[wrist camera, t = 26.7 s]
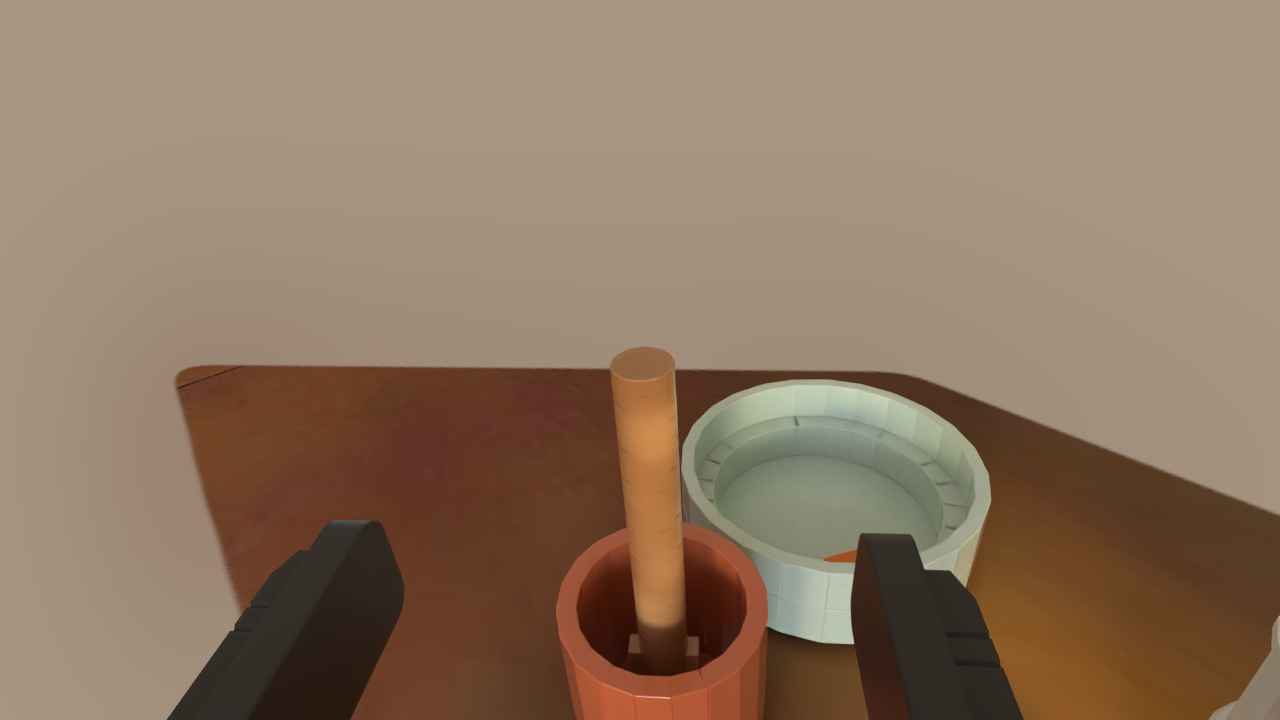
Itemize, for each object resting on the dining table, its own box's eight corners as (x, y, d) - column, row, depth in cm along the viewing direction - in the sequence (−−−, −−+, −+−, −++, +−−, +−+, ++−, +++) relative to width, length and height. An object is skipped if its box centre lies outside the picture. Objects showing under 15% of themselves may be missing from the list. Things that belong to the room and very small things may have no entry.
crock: (757, 643, 36) (761, 523, 32) (767, 826, 29) (775, 703, 24) (595, 636, 38) (576, 519, 33) (564, 810, 30) (534, 691, 25)
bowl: (926, 446, 50) (939, 378, 46) (1016, 659, 35) (1045, 580, 32) (689, 444, 52) (687, 379, 49) (678, 644, 37) (674, 569, 34)
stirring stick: (701, 689, 34) (690, 345, 23) (700, 732, 32) (688, 380, 21) (638, 686, 34) (599, 346, 24) (634, 729, 32) (590, 380, 22)
